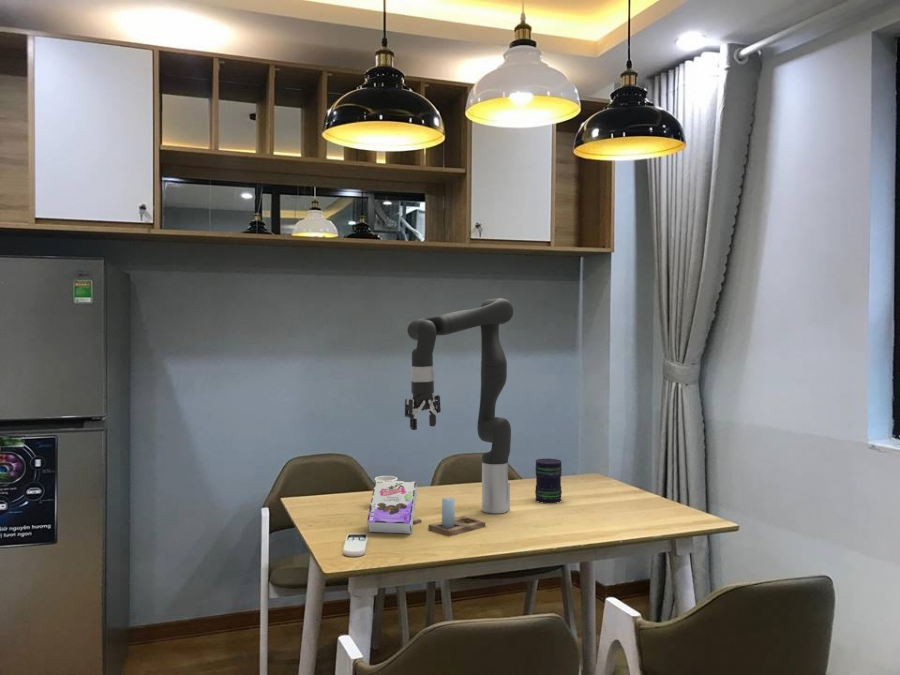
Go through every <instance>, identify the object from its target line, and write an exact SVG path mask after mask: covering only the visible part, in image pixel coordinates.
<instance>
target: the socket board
mask: <svg viewBox="0 0 900 675" xmlns="http://www.w3.org/2000/svg"><path fill="white" fill-rule="evenodd" d="M465 523H466V524H465ZM485 527H486V521H484V520H479V519H476V518H472V517H469V516H467V515H466V516H465V515H463V516H458V517H455V527H454V528H450V529H445V528H442V521H439V522H438V521H437V522H434V523H429V524H428V527H427V528H428V530H429V531H432V532H435V533H437V534H442V535H445V536H448V537H451V536H455V535H459V534H463V533H466V532H470V531H474V530H478V529H481V528H485Z"/></svg>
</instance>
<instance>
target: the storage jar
mask: <svg viewBox="0 0 900 675" xmlns="http://www.w3.org/2000/svg"><path fill="white" fill-rule="evenodd" d="M534 467H535V482H536V483H535V501H536V502H537V501H539V502H538V503H540V502H543V503H542V504H547V503H554V504H558V503H557V502H559V503H561V502H562V492H563V491H562V481H561V480H562V479H561V478H562V470H563V468H562V460H560V459H558V458H538V459H536V460H535V466H534ZM560 501H561V502H560Z"/></svg>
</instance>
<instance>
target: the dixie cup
mask: <svg viewBox="0 0 900 675" xmlns="http://www.w3.org/2000/svg"><path fill="white" fill-rule="evenodd" d="M375 480H379V481H398V477H396V476H393V475H379V476H376V477H375V478H374V481H375Z"/></svg>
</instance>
